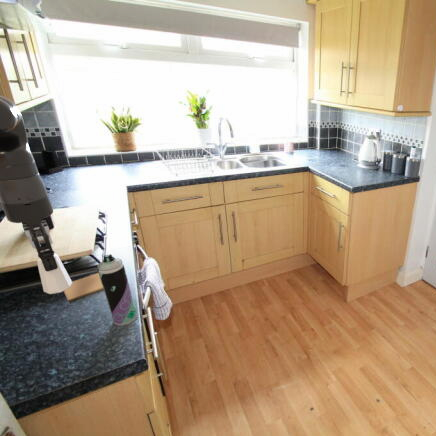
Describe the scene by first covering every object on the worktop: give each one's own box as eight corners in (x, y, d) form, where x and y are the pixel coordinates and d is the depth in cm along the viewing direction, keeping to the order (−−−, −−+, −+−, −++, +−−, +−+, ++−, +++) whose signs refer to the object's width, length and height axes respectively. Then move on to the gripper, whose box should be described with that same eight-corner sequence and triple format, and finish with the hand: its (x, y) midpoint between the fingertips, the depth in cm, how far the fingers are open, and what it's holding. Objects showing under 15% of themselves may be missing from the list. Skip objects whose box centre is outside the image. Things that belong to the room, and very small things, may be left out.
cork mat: (61, 304, 91) (60, 302, 91) (54, 289, 97) (54, 287, 97) (109, 286, 99) (108, 285, 99) (100, 273, 105) (100, 272, 105)
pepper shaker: (37, 294, 74) (20, 253, 69) (56, 280, 79) (41, 241, 74) (61, 294, 74) (45, 253, 69) (78, 281, 79) (64, 242, 74)
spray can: (121, 328, 83) (101, 263, 75) (109, 321, 86) (89, 257, 78) (141, 316, 88) (125, 253, 80) (129, 309, 90) (112, 247, 82)
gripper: (-3, 191, 69) (25, 259, 76) (1, 210, 60) (33, 285, 67) (42, 184, 74) (64, 249, 81) (52, 201, 65) (76, 272, 72)
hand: (50, 265), depth 74 cm, fingers closed on pepper shaker, 4 cm apart
